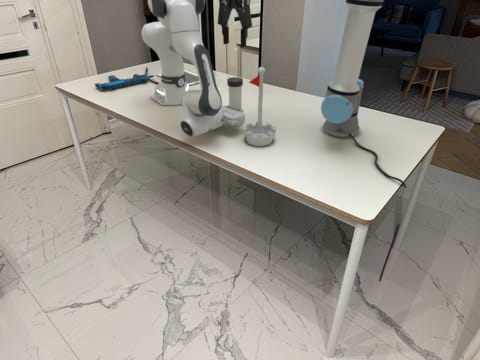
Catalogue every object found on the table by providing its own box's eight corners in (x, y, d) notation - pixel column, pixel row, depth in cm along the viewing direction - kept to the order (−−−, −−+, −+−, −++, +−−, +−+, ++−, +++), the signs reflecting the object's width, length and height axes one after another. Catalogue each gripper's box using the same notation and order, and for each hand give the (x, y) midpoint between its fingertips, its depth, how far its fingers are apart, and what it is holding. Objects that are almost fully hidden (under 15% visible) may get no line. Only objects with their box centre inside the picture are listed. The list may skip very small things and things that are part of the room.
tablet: (156, 75, 222) (156, 74, 221) (183, 69, 233) (183, 69, 233) (183, 86, 201) (183, 86, 201) (210, 80, 212) (210, 79, 212)
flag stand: (266, 131, 149) (269, 61, 133) (280, 143, 139) (285, 69, 122) (239, 136, 145) (238, 64, 129) (250, 149, 135) (252, 73, 118)
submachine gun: (139, 68, 225) (158, 74, 208) (140, 74, 226) (158, 80, 210) (87, 78, 206) (103, 86, 189) (89, 84, 208) (104, 92, 191)
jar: (233, 119, 160) (233, 77, 149) (243, 122, 158) (243, 79, 147) (227, 124, 156) (226, 81, 145) (237, 126, 154) (237, 83, 143)
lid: (232, 81, 151) (232, 76, 150) (245, 83, 148) (245, 78, 147) (224, 85, 146) (224, 80, 145) (237, 88, 143) (237, 82, 142)
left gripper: (231, 117, 138) (254, 107, 146) (198, 104, 149) (220, 97, 158) (232, 131, 141) (253, 121, 150) (199, 118, 153) (221, 109, 161)
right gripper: (263, -19, 123) (261, 47, 135) (219, -21, 134) (221, 40, 146) (250, -18, 118) (249, 50, 130) (206, -20, 129) (209, 43, 141)
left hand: (236, 108), depth 154 cm, fingers closed on jar, 5 cm apart
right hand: (234, 45), depth 138 cm, fingers open, 8 cm apart
